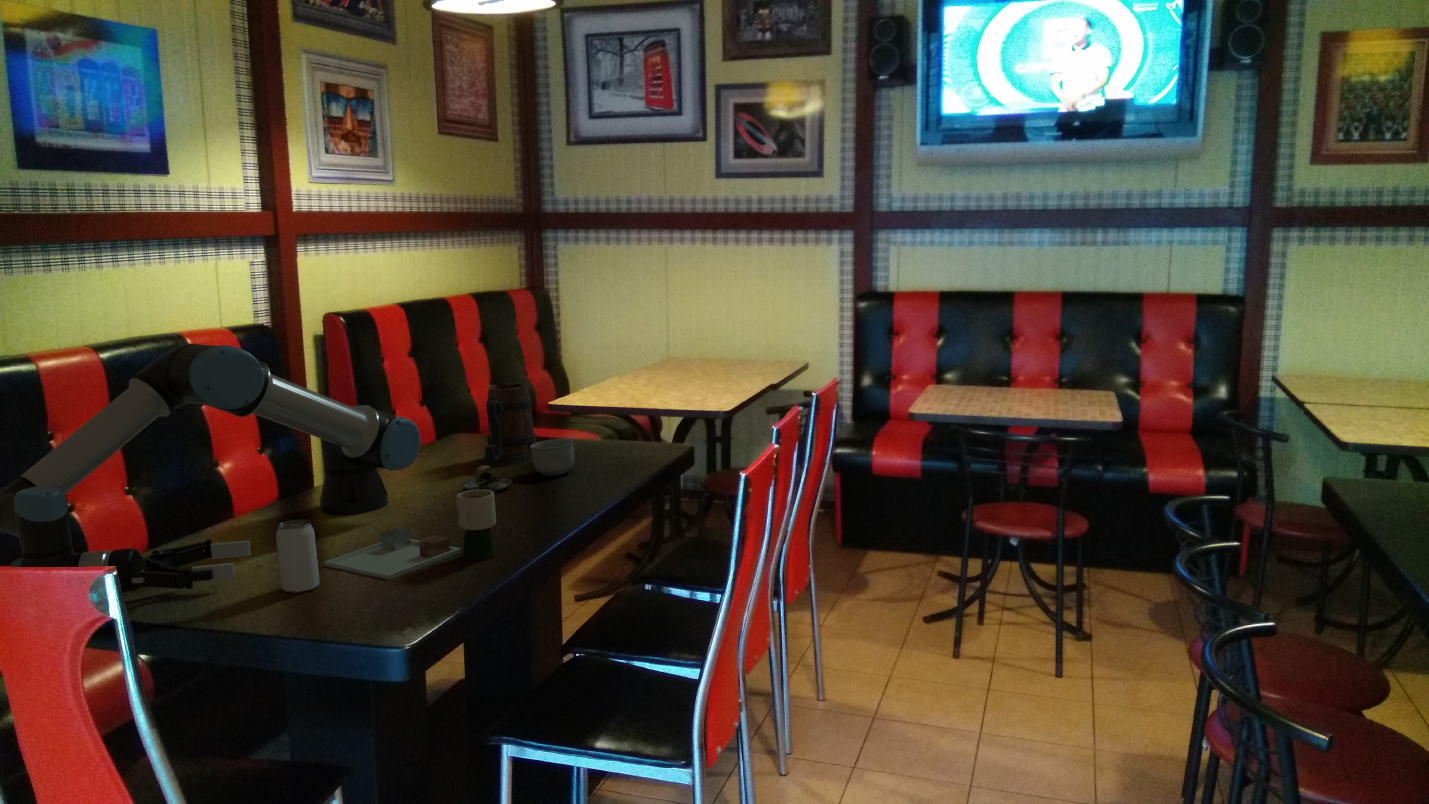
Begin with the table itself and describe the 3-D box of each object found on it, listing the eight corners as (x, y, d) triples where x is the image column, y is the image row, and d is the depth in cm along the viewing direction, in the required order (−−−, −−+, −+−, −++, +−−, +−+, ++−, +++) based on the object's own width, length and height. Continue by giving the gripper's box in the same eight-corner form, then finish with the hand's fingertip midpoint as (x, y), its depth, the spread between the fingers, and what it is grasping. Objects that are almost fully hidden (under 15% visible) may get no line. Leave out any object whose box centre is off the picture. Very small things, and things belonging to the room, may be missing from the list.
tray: (324, 569, 210) (323, 561, 210) (398, 543, 225) (397, 536, 224) (388, 583, 200) (388, 575, 200) (461, 555, 215) (461, 548, 215)
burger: (478, 499, 258) (475, 468, 257) (453, 491, 267) (451, 461, 266) (522, 489, 266) (520, 459, 265) (497, 481, 275) (495, 452, 274)
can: (307, 594, 196) (300, 529, 194) (274, 593, 197) (267, 528, 195) (326, 582, 202) (320, 519, 200) (295, 581, 203) (288, 518, 201)
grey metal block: (381, 548, 219) (380, 533, 219) (397, 542, 222) (395, 528, 222) (395, 550, 217) (393, 536, 216) (410, 545, 220) (409, 530, 220)
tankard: (496, 451, 309) (491, 380, 306) (553, 451, 306) (548, 380, 302) (460, 471, 287) (453, 395, 283) (521, 471, 283) (515, 395, 280)
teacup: (556, 480, 273) (554, 448, 272) (523, 476, 279) (521, 445, 277) (591, 467, 285) (589, 437, 283) (559, 464, 290) (557, 434, 289)
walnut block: (420, 555, 213) (418, 540, 213) (435, 550, 217) (434, 535, 216) (434, 558, 211) (433, 543, 211) (450, 552, 214) (448, 538, 214)
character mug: (476, 549, 218) (471, 486, 216) (509, 551, 216) (504, 487, 214) (449, 567, 208) (444, 500, 206) (484, 569, 206) (479, 501, 204)
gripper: (136, 570, 205) (257, 558, 209) (91, 616, 181) (229, 602, 185) (131, 531, 204) (253, 520, 208) (85, 573, 180) (224, 559, 184)
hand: (242, 559), depth 197 cm, fingers open, 13 cm apart
